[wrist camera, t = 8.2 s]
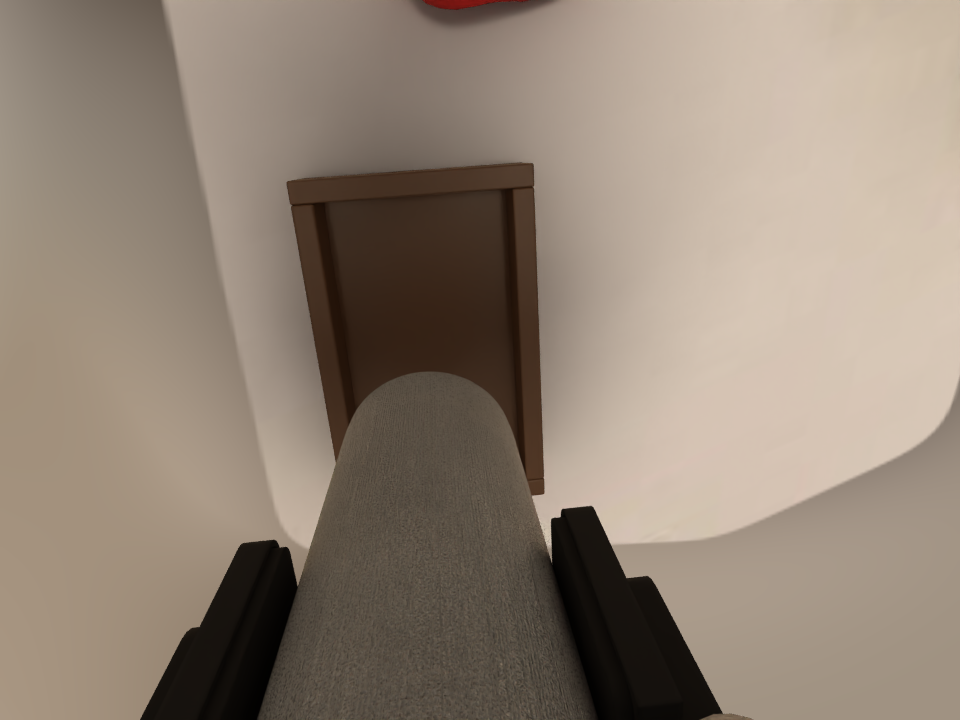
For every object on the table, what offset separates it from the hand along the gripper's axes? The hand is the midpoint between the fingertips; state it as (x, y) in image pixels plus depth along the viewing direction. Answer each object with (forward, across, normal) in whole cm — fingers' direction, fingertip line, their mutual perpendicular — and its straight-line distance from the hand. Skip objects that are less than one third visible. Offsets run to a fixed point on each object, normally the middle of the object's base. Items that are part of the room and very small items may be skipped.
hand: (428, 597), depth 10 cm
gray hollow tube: (+6, 0, 0) cm, 6 cm away
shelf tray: (+15, 0, 0) cm, 15 cm away
